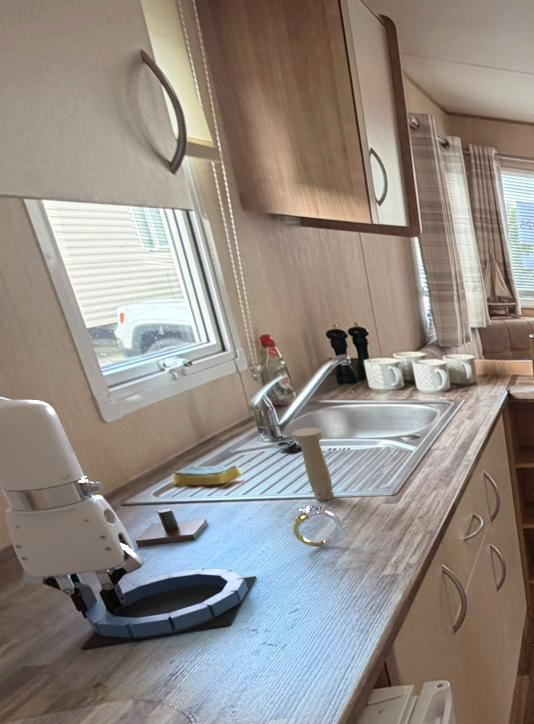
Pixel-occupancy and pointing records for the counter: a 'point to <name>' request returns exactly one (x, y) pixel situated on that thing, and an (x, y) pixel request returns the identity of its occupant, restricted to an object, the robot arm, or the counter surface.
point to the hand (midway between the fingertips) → (104, 611)
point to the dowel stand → (171, 530)
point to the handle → (315, 462)
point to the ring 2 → (311, 512)
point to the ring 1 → (177, 619)
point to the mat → (168, 604)
